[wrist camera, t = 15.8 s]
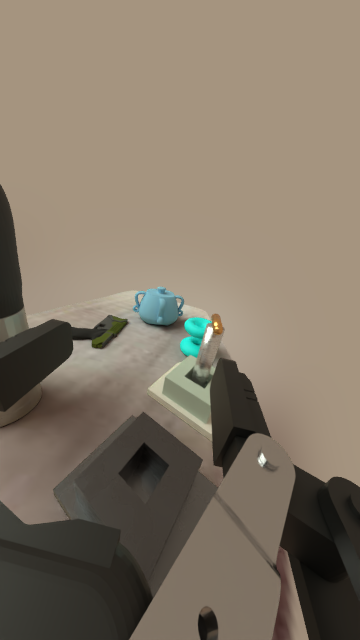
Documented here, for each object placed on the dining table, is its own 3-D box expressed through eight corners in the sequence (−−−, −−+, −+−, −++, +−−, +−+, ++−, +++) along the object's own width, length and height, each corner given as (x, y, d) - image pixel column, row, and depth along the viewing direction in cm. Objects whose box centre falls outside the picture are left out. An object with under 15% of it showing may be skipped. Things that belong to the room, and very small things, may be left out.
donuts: (179, 322, 47) (192, 313, 55) (173, 352, 51) (186, 339, 59) (214, 335, 43) (222, 323, 52) (205, 366, 47) (214, 350, 56)
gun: (90, 315, 63) (129, 324, 64) (50, 340, 46) (104, 352, 46) (90, 309, 63) (130, 318, 63) (49, 332, 45) (105, 344, 45)
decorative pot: (159, 309, 80) (163, 281, 74) (184, 323, 71) (191, 292, 65) (129, 316, 68) (130, 282, 62) (155, 333, 59) (159, 296, 53)
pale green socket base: (146, 393, 35) (149, 371, 33) (177, 366, 45) (181, 347, 43) (217, 445, 28) (227, 422, 26) (236, 400, 38) (244, 380, 36)
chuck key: (202, 407, 33) (230, 330, 26) (186, 403, 33) (209, 325, 26) (202, 382, 39) (224, 314, 32) (188, 379, 39) (208, 310, 32)
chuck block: (54, 495, 20) (47, 468, 18) (131, 420, 30) (134, 396, 27) (159, 662, 13) (171, 654, 11) (215, 493, 23) (228, 469, 20)
